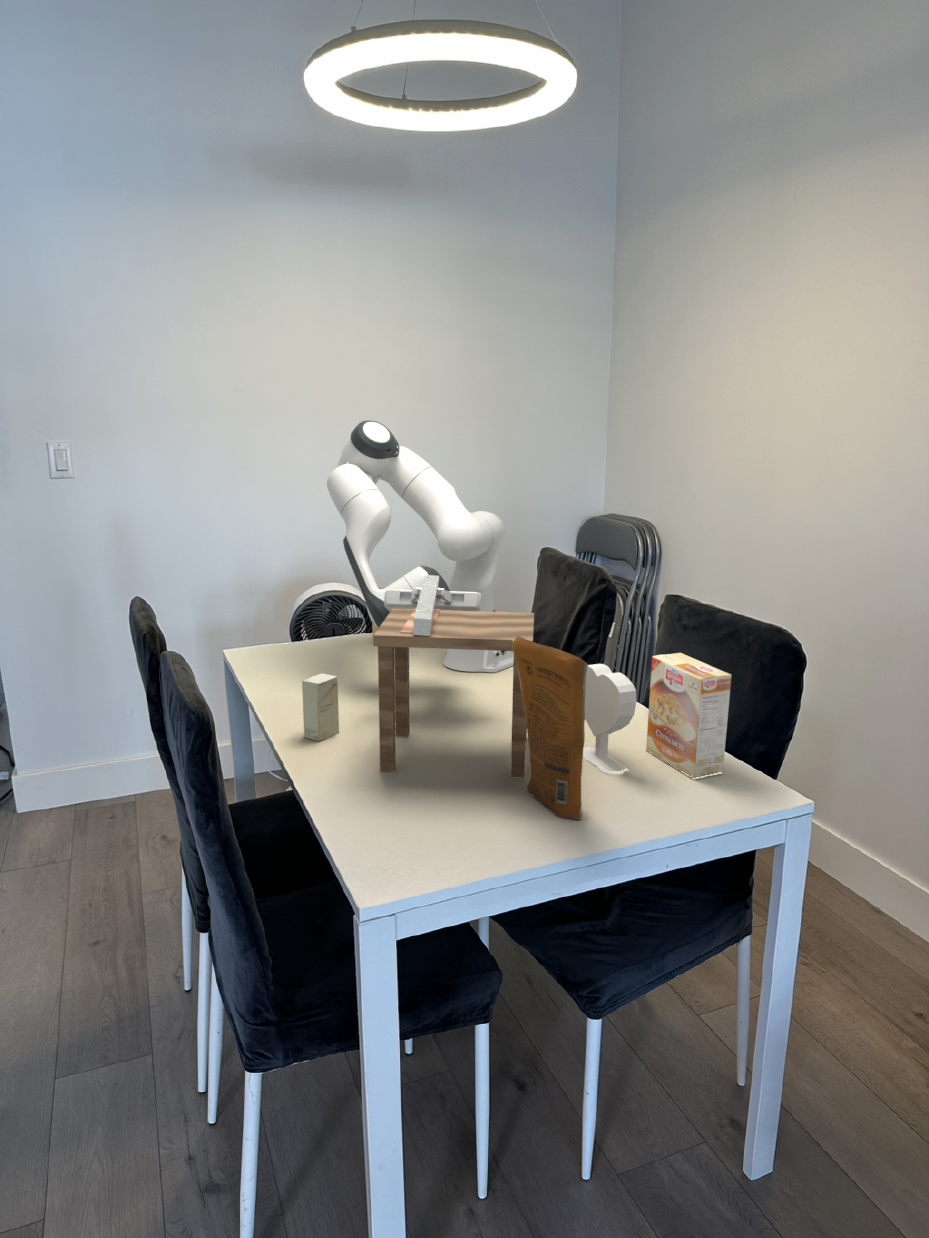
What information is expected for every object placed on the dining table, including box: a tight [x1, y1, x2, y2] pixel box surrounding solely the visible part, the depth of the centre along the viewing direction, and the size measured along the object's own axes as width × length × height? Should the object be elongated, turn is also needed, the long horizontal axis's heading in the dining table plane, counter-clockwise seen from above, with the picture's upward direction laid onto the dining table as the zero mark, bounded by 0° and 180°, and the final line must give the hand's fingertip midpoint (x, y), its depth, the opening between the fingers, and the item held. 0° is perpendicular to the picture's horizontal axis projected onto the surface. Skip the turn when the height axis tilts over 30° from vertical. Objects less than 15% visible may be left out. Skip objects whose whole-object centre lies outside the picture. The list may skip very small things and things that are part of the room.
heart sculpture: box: [583, 663, 637, 772], centre depth 161 cm, size 16×5×18 cm, turn 23°
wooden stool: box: [372, 608, 535, 779], centre depth 162 cm, size 20×28×26 cm
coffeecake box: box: [645, 652, 733, 778], centre depth 160 cm, size 15×7×20 cm, turn 23°
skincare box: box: [301, 672, 340, 742], centre depth 172 cm, size 6×4×12 cm
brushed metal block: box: [413, 575, 439, 636], centre depth 165 cm, size 32×3×3 cm, turn 179°
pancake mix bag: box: [512, 636, 589, 820], centre depth 142 cm, size 7×19×28 cm, turn 26°
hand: (429, 591), depth 171 cm, fingers closed on brushed metal block, 3 cm apart
